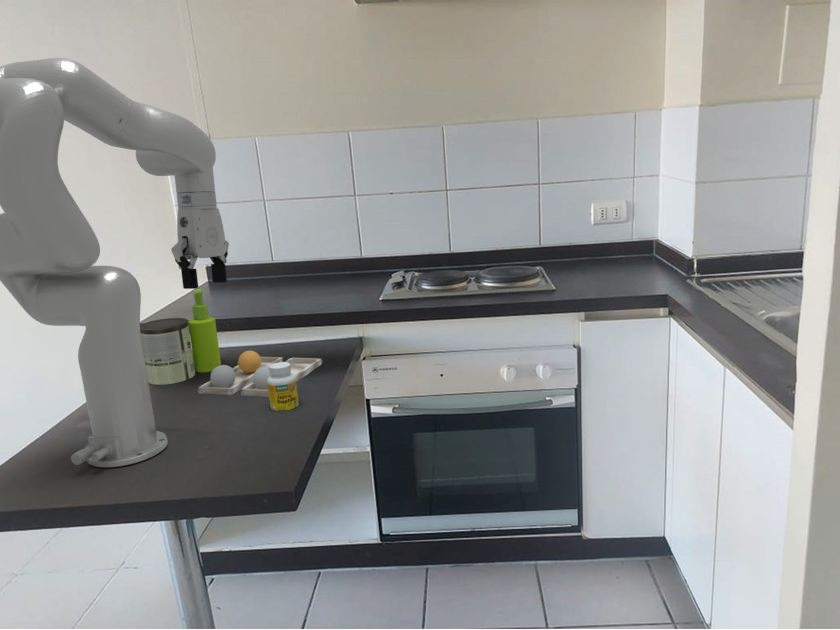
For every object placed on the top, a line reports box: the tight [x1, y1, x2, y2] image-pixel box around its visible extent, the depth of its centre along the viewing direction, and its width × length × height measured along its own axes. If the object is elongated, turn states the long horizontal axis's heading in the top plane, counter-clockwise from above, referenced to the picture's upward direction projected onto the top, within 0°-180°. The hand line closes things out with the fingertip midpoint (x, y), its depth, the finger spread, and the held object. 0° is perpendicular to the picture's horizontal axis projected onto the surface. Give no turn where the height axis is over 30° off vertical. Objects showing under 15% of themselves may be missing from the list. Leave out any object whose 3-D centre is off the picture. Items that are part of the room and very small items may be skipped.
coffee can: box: [140, 317, 196, 385], centre depth 138 cm, size 10×10×14 cm
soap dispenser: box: [188, 288, 222, 373], centre depth 143 cm, size 6×7×20 cm
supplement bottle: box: [267, 361, 300, 412], centre depth 117 cm, size 5×5×10 cm
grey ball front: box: [253, 366, 271, 390], centre depth 126 cm, size 5×5×5 cm
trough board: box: [197, 356, 323, 398], centre depth 135 cm, size 24×19×3 cm
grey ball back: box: [210, 364, 235, 388], centre depth 129 cm, size 5×5×5 cm
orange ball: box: [237, 350, 261, 373], centre depth 139 cm, size 5×5×5 cm
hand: (205, 285), depth 129 cm, fingers open, 9 cm apart
